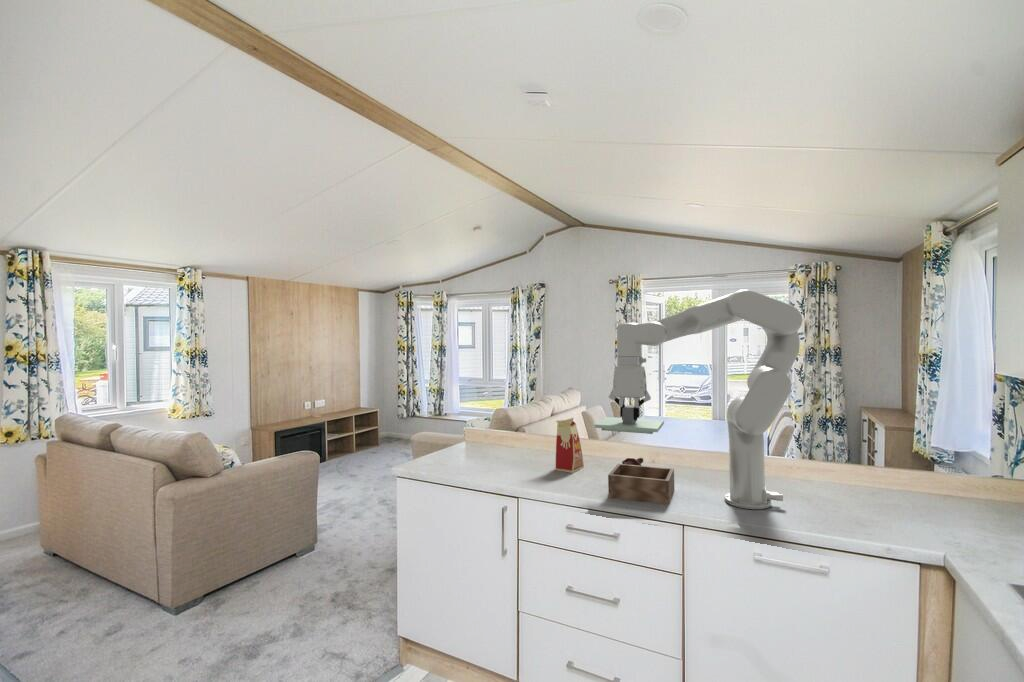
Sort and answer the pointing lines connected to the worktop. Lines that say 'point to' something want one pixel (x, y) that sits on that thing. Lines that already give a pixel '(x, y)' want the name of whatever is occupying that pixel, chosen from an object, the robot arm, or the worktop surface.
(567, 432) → the milk carton
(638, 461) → the icecream
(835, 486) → the worktop surface
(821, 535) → the worktop surface
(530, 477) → the worktop surface
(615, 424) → the lid
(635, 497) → the box
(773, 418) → the robot arm
